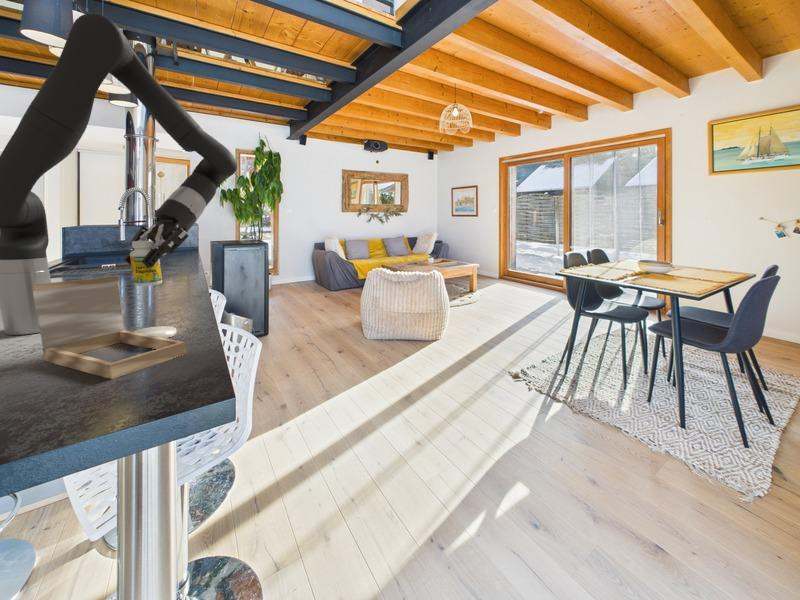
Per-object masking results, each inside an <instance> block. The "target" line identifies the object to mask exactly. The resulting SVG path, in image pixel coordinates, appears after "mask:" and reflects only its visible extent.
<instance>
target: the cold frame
mask: <svg viewBox="0 0 800 600" xmlns="http://www.w3.org/2000/svg"><path fill="white" fill-rule="evenodd" d="M31 286H32V291H33V295H34V301H35V306H36V312H37V318H38V323H39V329H40V332H39V334H40V340H41V343H42V345H41V346H42V354H43V358H44V362H47V363H51V364H53V365H59V366H61V367H66V368H69V369H73V370H76V371H80V372H83V373H87V374H90V375H94V376H98V377H103V378H105V379H109V380H115V379H118V378H121V377H123V376H126V375H129V374H132V373H135V372H138V371H142V370H144V369H147V368H150V367H153V366H156V365H159V364H162V363H164V362H167V361H171V360H173V358H174V359H177V358H179V357H182V356H185V355H187V354H188V350H187V342H186V341H181V340H176V339H172V338H169V339H167V338H162V337H156V336H151V335H146V334H141V333H136V332H133V331H129V330H125V328H124V319H123V313H122V305H121V296H120V289H119V278H118V276H116V275H115V276H105V277H104V276H103V277H95V278H93V277H92V278H85V279H77V280H68V281H58V282H56V281H55V282H51V283H47V284H38V285H31ZM120 342H122V343H123V344H125V345H126V344H127V345H131V346H135V347H136V346H137V347H140V348H146V349H150V348H152V349H151V350H150V351H147V352H143V353H140V354H136V355H133V356H130V357H127V358H122V359H119V360H118V361H114V362H112V361H108V360H104V359H99V358H96V357H92V356H88V355H84V354H83V353H86V352H90V351H94V350H98V349H102V348H105V346H106V347H109V345H110V346H113V344H114V345H116V343H117V344H120ZM154 349H156V350H154ZM184 354H185V355H184ZM181 355H182V356H181ZM178 356H179V357H178ZM176 357H177V358H176Z"/></svg>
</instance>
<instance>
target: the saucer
mask: <svg viewBox="0 0 800 600" xmlns="http://www.w3.org/2000/svg"><path fill="white" fill-rule="evenodd" d="M132 332H136V333H141V334H146V335H151V336H156V337H162V338H168V337H172V336H174V335H175V334H176V333H177V328H176V327H174V326H171V325H170V326H168V325H167V326H165V325H164V326H163V325H162V326H158V325H157V326H152V327H145V328H139V329H136V330H133V331H132ZM177 334H178V333H177ZM174 337H175V336H174ZM172 338H173V337H172Z"/></svg>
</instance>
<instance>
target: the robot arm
mask: <svg viewBox="0 0 800 600" xmlns="http://www.w3.org/2000/svg"><path fill="white" fill-rule="evenodd" d="M143 63H144V62H142V61H141V59H140V58H139V56H138V55H137V53H136V51H134V49H133V48H132V46H131V43H130V41H129V39H128V38H127V36H125V34H124V32H123V31H122V30H121V29H120V27H119V26H118V25H117V24H116V23H115V22H114V21H113V20H112V19H110V18H108V17H107V16H105V15H102V14H100V13H94V12H93V13H92V12H89V13H85V14H81V15H79V17H77V18H76V19H75V20H74V22H73V24H72V26H71V29H70V31H69V33H68V36H67V39H66V41H65V44H64V45H63V49H62V51H61V54H60V55H59V58H58V59H57V62H56V63H55V66H54V68H53V69H52V70H51V72H50V73H49V75H48V76H47V78H46V79H45V80H44V82H43V84H42V86H41V87H40V89H39V90H38V92H37V93H36V94H35V96H34V98H33V100H32V101H31V103H30V104H29V105H28V107H27V109H26V111H25V112H24V114H23V116H22V117H21V119H20V122H19V123H18V125H17V126H16V127H17V128H16V129H15V130H14V132H13V134H12V135H11V136H10V139H9V140H8V141H7V143H6V145H5V147H4V149H3V150H2V152H1V154H0V316H1V320H2V321H1V322H2V326H3V327H2V328H3V332H4V334H5V335H10V336H12V335H13V336H14V335H15V336H20V335H21V336H22V335H30V334H32V335H33V334H37V333H38V334H39V333H40V329H39V323H38V318H37V312H36V306H35V301H34V295H33V291H32V286H31V285H38V284H47V283H52V278H51V274H50V268H49V267H50V266H49V263H48V257H47V256H48V255H47V249H48V245H49V231H48V229H49V228H48V223H47V222H48V221H47V214H46V209H45V205H44V203H43V201H42V200H41V198H40V197H39V196H38V195H37V194H36V193H34V192H33V191H32V190H33V188H34V186H35V184H36V183H37V182H38V181H39V179H40V178H41V177H42V176H43V175H44V174H46V173H47V172H48V171H50V170H51V169H53V168H54V167H55V166H57V165H59V164H60V163H61V162H62V161H64V160H65V159H66V158H67V157H68V156H70V155H71V154H72V153H73V151H74V150H75V148H76V147H77V145H78V144H79V142H80V140H81V139H82V137H83V135H84V133H85V131H86V130H87V128H88V125H89V121H90V119H91V116H92V111H93V108H94V107H93V106H94V103H95V98H96V95H97V92H98V90H99V88H100V87H101V86H102V83H103V82H104V81H105V79H106V78H107V76H108V74H110V75H111V76H113V77H114V78H115V79H116V80H117V81H118V82H119V83H121V84H122V85H123V86H125V88H126V89H128V90H129V91H130V93H132V95H134V96H135V97H136V98H137V99H138V101H140V103H141V104H142V105H143V106H144V108H145V109H146V110H147V112H149V114H151V116H152V117H153V119H155V121H156V122H157V123H158V124H159V125H160V126H161V128H162V129H163V130H164V131H165V132H166V133H167V134H168V135H169V136H170V137H171V138H172V140H174V141H175V143H177V145H178V146H179V147H180V148H181V149H183V150H184V151H185V152H187V153H192V152H195V153H197V154H198V155H199V156H201V157H202V159H201V160H200V161H199V163H198V164H197V165H196V166H195V168H194V169H193V171H192V172H191V174H190V175H189V176H188V177H186V179H185V180H184V181H183V182H182V184H181V185H179V186H178V188H177V189H175V190H174V191H173V192H172V193H171V194H170V195H169V196H168V197H167V199H166V200H165V201H164V202H163V203H162V204H161V205H160V207H159V208H158V209H157V210H156V211H155V214H154V216H155V219H156V222H154V223H153V224H152V225H151V226H149V227H146V226H145V225H142V226H140V227H139V229H138V231H137V232H136V233H135V235H134V236H133V238H132V239H131V241H130V242H129V245H130V246H131V247H132V241H153V242H154V248H153V249H151V250H150V252H149V253H148V254H147V255H146V256H145V258H144V259H143V260H142V263H143V264H144V265H146V266H147V267H150V268H151V267H153V266H154V264H155V263H156V262H157V261H158V259H160V258H161V257H162V256H165V255H167V253H168V254H170V255H171V254H173V253H174V252H175V251H176V250H177V248H179V247H180V246H181V245H182V244H183V243H184V242H185V240H186V239H188V237H189V234H188V233H189V231H190V229H191V228H192V227H193V226H194V225H195V223H196V222H197V221H198V220H199V218H200V217H201V216H202V214H203V212H204V211H205V209H206V207H207V206H209V205H208V204H210V202H211V201H212V199H213V198H214V197H215V195H216V194H217V193H216V192H217V189H218V188H219V187H220V185H222V184H223V182H225V181H226V180H228V179H229V178H230V177H231V176H233V175H234V174H235V173H236V172H237V169H238V162H237V159H236V157H234V155H233V153H232V152H231V151H230V150H229V149H228V148H227V147H226V146H225V145H223V144H222V143H221V142H220V141H218V140H217V139H216V138H214V137H213V136H211V135H210V133H207V132H206V131H205V130H204V129H203V128H202V127H201V126H200V124H198V123H197V121H196V120H195V119H194V118H193V117H192V115H190V113H188V111H187V110H186V109H185V108H184V107H183V106H182V105H181V104H180V103H179V102H178V101H177V100H176V99H175V98H174V97H173V96H172V95H171V94H170V93H169V92H168V91H167V90H166V89H165V88H164V87H163V86H162V85H161V84H160V83H159V82H158V80H156V78H154V76H153V75H152V74H151V73H150V71H149V70H148V69H147V68H146V66H145V65H144V64H143ZM132 251H134V248H133V247H132V249H131V251H129V252H128V254H127V255H126V256H125V257H124V262H125V263H126V264H127V265H129V266H131V260H130V253H131V252H132Z"/></svg>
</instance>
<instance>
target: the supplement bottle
mask: <svg viewBox="0 0 800 600" xmlns="http://www.w3.org/2000/svg"><path fill="white" fill-rule="evenodd" d="M131 241H132V240H131ZM131 247H132V249H133V248H134V251H132V252H131V251H130V252H131V253H130V252H129V253H130V260H131V273H132V281H133V284H134V285H135V286H137V287H149V286H156V285H161V284H162V283H163V277H162V269H161V268H162V267H161V261H160V258H159V259H158V261H157V262H156V263H155V264H154V266H153V267H151V268H150V267H147V266H146V265H144V264H143V263H142V260H143V259H144V258H145V256H146V255H147V254H148V253H149V252H150V250H151V249H154V242H153V241H151V240H148V241H139V240H138V241H132V246H131Z"/></svg>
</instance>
